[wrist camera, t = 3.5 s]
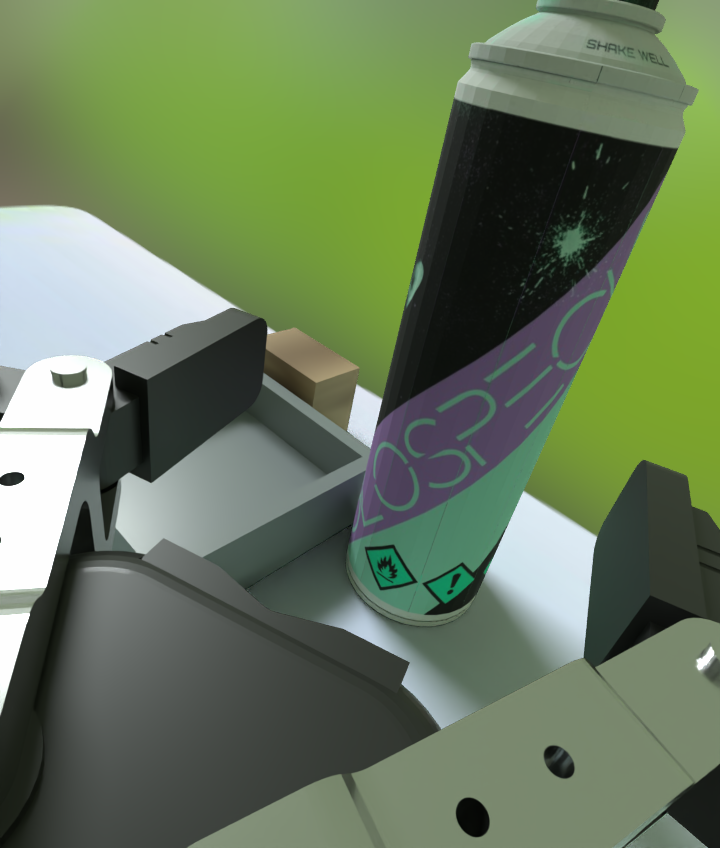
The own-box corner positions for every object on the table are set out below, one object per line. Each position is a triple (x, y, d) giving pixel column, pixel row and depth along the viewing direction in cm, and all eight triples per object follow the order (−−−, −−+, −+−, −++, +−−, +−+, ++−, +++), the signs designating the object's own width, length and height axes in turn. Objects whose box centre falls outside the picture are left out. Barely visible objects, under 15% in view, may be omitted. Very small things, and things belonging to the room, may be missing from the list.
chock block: (246, 403, 31) (250, 338, 29) (287, 389, 33) (295, 327, 31) (305, 450, 28) (316, 382, 26) (346, 431, 30) (359, 367, 28)
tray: (30, 471, 23) (18, 412, 22) (234, 402, 30) (237, 354, 29) (161, 640, 18) (159, 580, 17) (372, 511, 25) (385, 459, 23)
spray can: (317, 557, 22) (449, -112, 11) (405, 505, 26) (570, -42, 15) (418, 654, 19) (726, -113, 8) (501, 580, 23) (793, -26, 12)
